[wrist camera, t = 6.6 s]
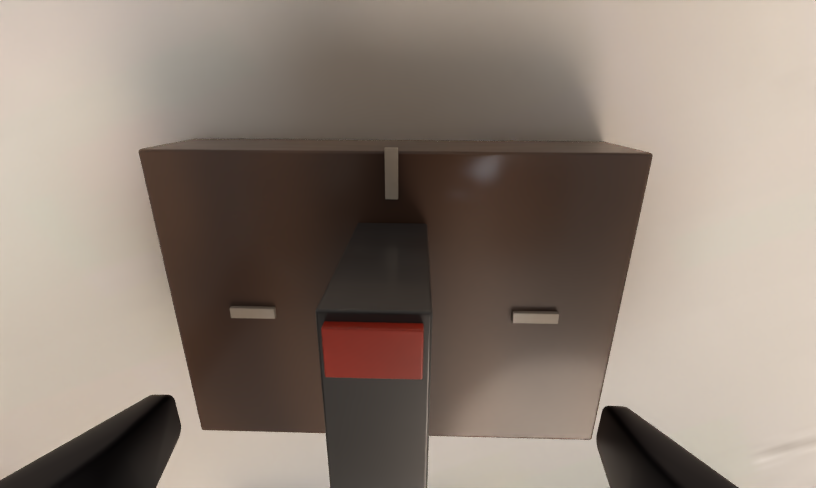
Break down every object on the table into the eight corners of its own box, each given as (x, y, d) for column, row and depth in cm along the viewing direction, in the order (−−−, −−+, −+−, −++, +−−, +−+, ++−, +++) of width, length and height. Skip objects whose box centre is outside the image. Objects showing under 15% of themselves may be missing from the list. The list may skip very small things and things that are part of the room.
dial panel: (237, 378, 17) (199, 436, 14) (194, 135, 14) (131, 145, 11) (563, 385, 17) (593, 446, 14) (605, 138, 13) (659, 150, 10)
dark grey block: (423, 392, 13) (425, 563, 8) (364, 390, 13) (332, 560, 9) (427, 222, 11) (433, 320, 6) (357, 222, 11) (310, 317, 6)
